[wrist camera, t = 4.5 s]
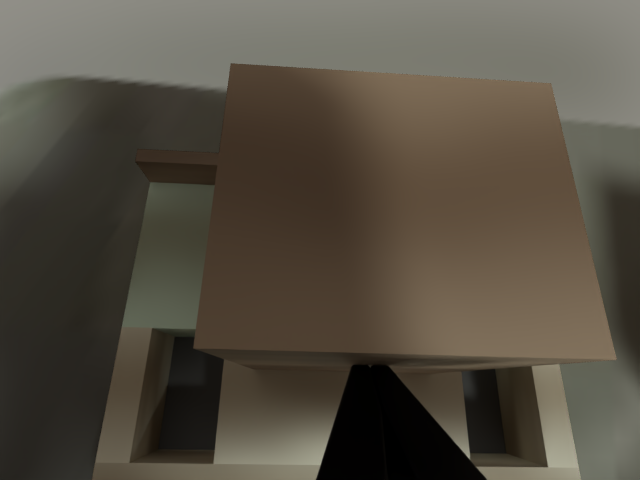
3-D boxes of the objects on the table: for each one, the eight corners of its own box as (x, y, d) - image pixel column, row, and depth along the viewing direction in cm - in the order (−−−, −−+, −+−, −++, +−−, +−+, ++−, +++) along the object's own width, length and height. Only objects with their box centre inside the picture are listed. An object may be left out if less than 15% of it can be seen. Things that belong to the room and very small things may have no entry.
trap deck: (539, 545, 14) (644, 614, 10) (117, 545, 13) (35, 619, 9) (491, 217, 19) (548, 169, 14) (174, 204, 18) (137, 148, 14)
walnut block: (431, 373, 13) (616, 359, 6) (253, 369, 13) (192, 348, 5) (421, 235, 15) (551, 83, 7) (264, 229, 14) (230, 63, 7)
